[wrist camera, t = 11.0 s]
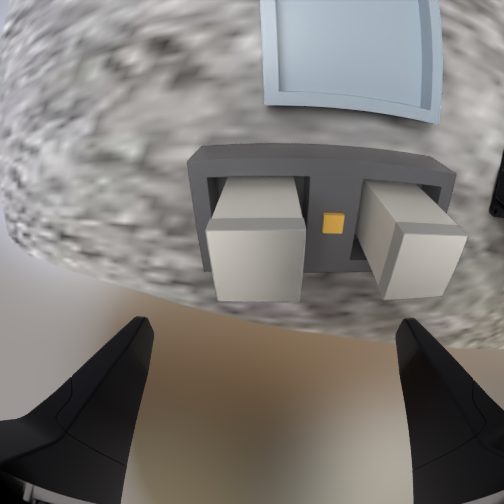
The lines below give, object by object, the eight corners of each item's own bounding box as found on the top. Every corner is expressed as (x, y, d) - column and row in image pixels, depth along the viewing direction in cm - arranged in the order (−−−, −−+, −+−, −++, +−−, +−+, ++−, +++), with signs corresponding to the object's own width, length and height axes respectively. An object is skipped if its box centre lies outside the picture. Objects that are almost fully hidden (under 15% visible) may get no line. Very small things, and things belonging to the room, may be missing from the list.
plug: (293, 172, 17) (306, 229, 11) (292, 228, 19) (299, 301, 13) (228, 173, 17) (205, 230, 11) (233, 229, 19) (217, 301, 14)
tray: (420, -17, 8) (434, -23, 6) (424, 119, 14) (439, 124, 13) (257, -44, 9) (256, -56, 7) (264, 102, 15) (264, 105, 13)
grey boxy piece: (430, 156, 16) (499, 207, 9) (410, 244, 20) (451, 314, 14) (201, 146, 17) (157, 194, 10) (213, 242, 21) (189, 322, 15)
